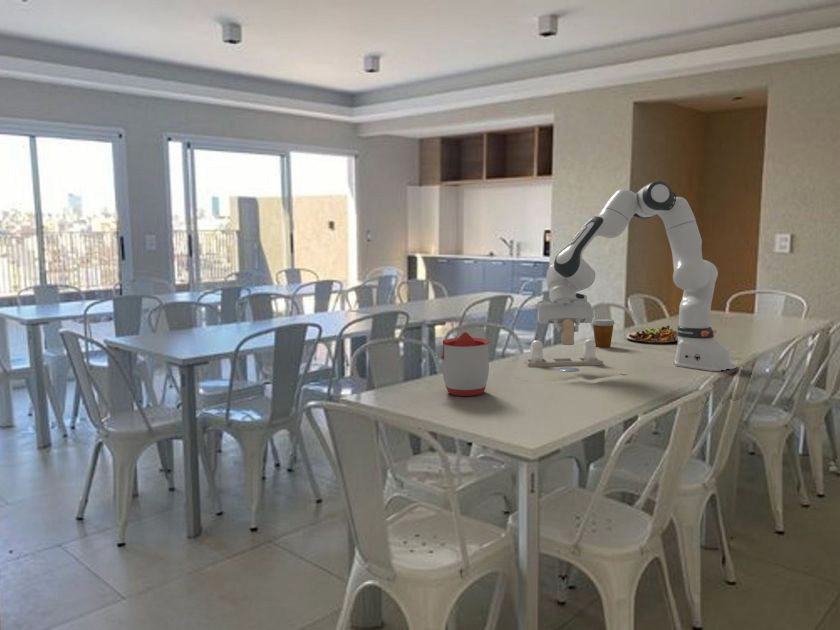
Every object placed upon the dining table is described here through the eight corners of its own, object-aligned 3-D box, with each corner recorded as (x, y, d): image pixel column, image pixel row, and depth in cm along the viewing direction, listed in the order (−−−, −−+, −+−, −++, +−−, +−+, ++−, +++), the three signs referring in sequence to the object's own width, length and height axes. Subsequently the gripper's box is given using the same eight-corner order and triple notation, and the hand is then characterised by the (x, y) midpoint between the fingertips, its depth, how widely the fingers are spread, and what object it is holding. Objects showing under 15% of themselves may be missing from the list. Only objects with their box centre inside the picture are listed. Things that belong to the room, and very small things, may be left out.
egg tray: (598, 363, 270) (598, 357, 269) (604, 367, 262) (604, 361, 261) (523, 365, 269) (523, 359, 268) (526, 369, 261) (526, 363, 260)
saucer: (584, 373, 253) (584, 369, 253) (567, 376, 249) (567, 372, 249) (568, 369, 260) (568, 366, 260) (552, 372, 256) (552, 369, 256)
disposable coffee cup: (596, 344, 312) (596, 317, 310) (617, 346, 306) (617, 318, 305) (588, 347, 304) (588, 320, 303) (609, 349, 299) (609, 321, 297)
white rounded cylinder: (597, 363, 265) (598, 339, 263) (589, 364, 262) (589, 340, 261) (589, 361, 268) (589, 337, 267) (580, 362, 266) (581, 338, 265)
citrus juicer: (436, 387, 236) (435, 328, 233) (488, 386, 235) (487, 328, 233) (436, 399, 220) (435, 336, 218) (491, 398, 220) (491, 335, 217)
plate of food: (661, 333, 339) (661, 321, 338) (702, 341, 313) (702, 328, 312) (612, 339, 330) (612, 327, 329) (650, 348, 304) (650, 334, 303)
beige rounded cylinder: (576, 344, 253) (577, 319, 251) (567, 345, 250) (567, 320, 249) (567, 342, 256) (568, 317, 255) (558, 343, 254) (559, 318, 253)
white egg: (545, 364, 264) (545, 340, 263) (536, 365, 262) (536, 341, 261) (537, 362, 268) (537, 338, 267) (528, 364, 265) (528, 340, 264)
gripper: (535, 296, 258) (540, 326, 249) (591, 295, 258) (598, 325, 250) (533, 306, 263) (538, 336, 254) (587, 305, 263) (594, 335, 255)
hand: (568, 331), depth 252 cm, fingers closed on beige rounded cylinder, 4 cm apart
